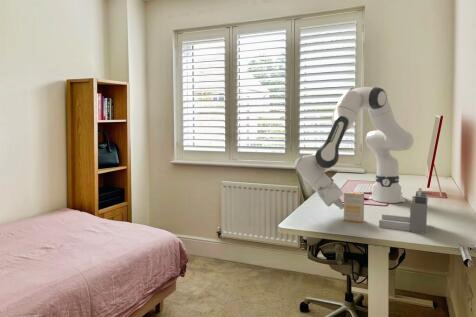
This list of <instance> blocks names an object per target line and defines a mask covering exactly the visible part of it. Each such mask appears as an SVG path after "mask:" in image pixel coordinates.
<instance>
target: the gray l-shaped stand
mask: <svg viewBox="0 0 476 317" xmlns="http://www.w3.org/2000/svg"><path fill="white" fill-rule="evenodd" d="M422 189H423V188H422V187H420V188H418V190H417V191H415V195H412V197H411V200H410V208H409V212H410V214H409V216H405V215H396V214H395V215H394V214H387V213H382V214H381V219H378V227H379V228H383V229H385V228H386V229H391V230H392V229H393V230H402V231H409V233H416V234H417V233H418V234H427V224H428V223H427V221H428V202H429V201H428V197H427V192H426V191H423V190H422Z"/></svg>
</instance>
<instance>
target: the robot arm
mask: <svg viewBox="0 0 476 317" xmlns="http://www.w3.org/2000/svg"><path fill="white" fill-rule="evenodd" d="M360 110H367V111H368V114H369V118H370V120H371V125H372V126H373V127H374V128H375V130H370V131H368V132H367V134H366V136H365V144H366V146H367V147H368V148H369V149H370V150H371V151H372V153H373V155H374V157H375V161H376V174H375V183H373V184H372V190H371V191H372V192H371V195H370V196H369V197H368V199H369V200H372V201H375V202H377V203H384V204H385V203H386V204H387V203H389V204H396V203H405V202H406V199H405V197H404V196H403V193H402V186H401V185H400V177H399V166H400V164H399V161H398V159H396V158H395V157H394V156H393V155H392V154H391V152H390V151H396V152H401V151H409V150H411V148H412V146H413V144H414V137H413V134H412V133H411V132H409V131H407V130H405V129H404V128H403V127H402V126H401V125H400V124H399V123H398V122H397V121H396V119H395V116H394V114H393V111H392V108H391V104H390V102H389V99H388V97H387V92H386V91H385V89H383V88H381V87H376V86H375V87H373V86H362V87H352V88H348V89H347V90H346V91H345V92H344V93H343V94H342V95H341V97H340V99H339V100H338V101H337V103H336V105H335V108H334V109H333V113H332V115H331V116H332V117H331V120H330V121H331V129H330V130H329V134H328V136H327V138H326V140H325V141H324V143H323V144H322V145H321V146H320V147H318V148H317V150H316V153H313V154H308V155H307V154H306V155H303V156H302V157H301V158H300V159H299V160H298V162H297V163H296V170H297V171H298V173H299V174H300V176H301V177H302V178H303V179H304V181H306V182H308V184H309V185H310V187H311V188H312V189H313V190H314V192H315V193H316V194H318V197H319V198H320V199H321V200H322V202H323V203H324V204H325V205H326V206H327V207H330V206H332V205H333V204H334V205H335V206H337V207H338V208H339V209H340V210H344V201H343V200H342V199H341V197H342V196H344V193H343V191H342V189H341V188H340V186H338V185H337V183H336V182H335V180H334V179H333V177H329V176H327V174H326V173H327V172H328V171H330V170H332V169H333V168H334V166H336V164H337V163H338V161H339V147H340V145H341V143H342V140H343V138H344V136H345V133H346V132H347V131H348V130H350V129H351V128H352V127H353V125H354V123H355V122H356V119H357V117H358V115H359V112H360Z"/></svg>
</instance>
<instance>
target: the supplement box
mask: <svg viewBox="0 0 476 317" xmlns="http://www.w3.org/2000/svg"><path fill="white" fill-rule="evenodd" d="M343 204H344V208H343V221H346V222H356V223H363V221H365V192H362V191H353V190H351V191H350V190H346V191H345V192H344V193H343Z"/></svg>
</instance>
